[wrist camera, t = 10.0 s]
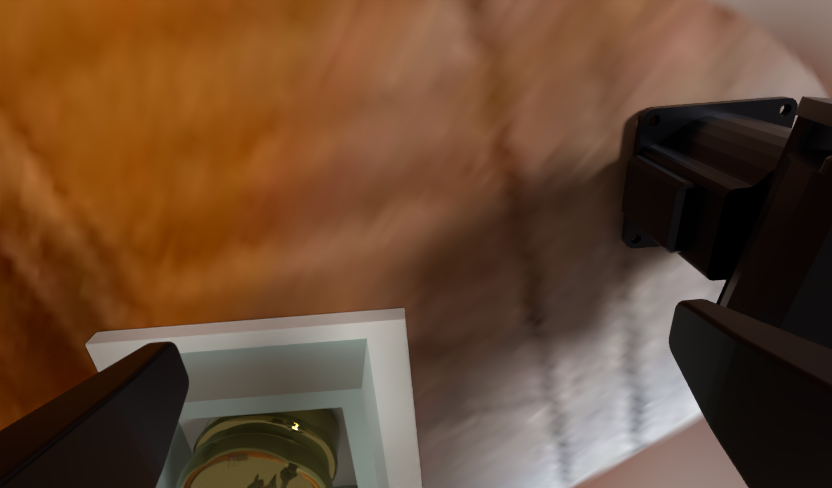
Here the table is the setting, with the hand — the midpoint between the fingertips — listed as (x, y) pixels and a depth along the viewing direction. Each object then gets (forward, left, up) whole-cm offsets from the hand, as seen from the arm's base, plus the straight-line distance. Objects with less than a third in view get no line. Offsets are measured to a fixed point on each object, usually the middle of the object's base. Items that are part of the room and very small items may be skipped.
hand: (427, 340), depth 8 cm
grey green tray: (+9, +15, -13) cm, 22 cm away
